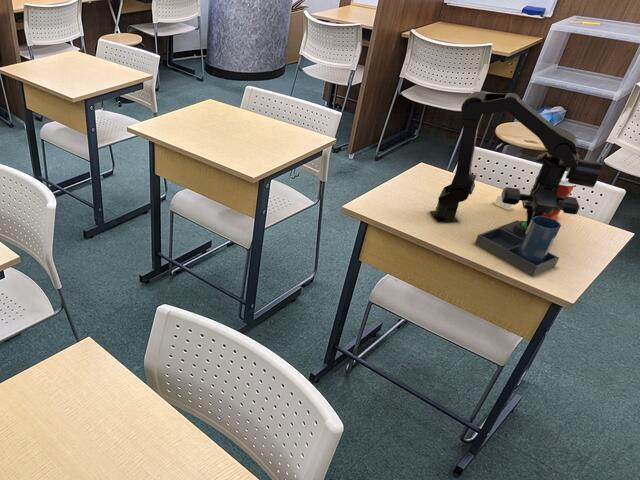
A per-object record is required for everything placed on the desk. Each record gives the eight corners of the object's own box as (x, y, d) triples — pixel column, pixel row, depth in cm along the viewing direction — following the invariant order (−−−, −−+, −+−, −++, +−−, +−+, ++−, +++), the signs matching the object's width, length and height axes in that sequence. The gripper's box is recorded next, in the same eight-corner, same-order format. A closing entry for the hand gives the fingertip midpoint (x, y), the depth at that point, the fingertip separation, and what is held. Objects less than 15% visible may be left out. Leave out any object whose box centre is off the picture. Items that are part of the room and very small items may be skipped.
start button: (516, 229, 165) (518, 224, 164) (524, 226, 166) (526, 221, 165) (527, 234, 162) (529, 229, 161) (535, 231, 164) (537, 226, 162)
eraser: (496, 203, 183) (500, 193, 181) (510, 209, 179) (514, 199, 177) (494, 204, 182) (497, 194, 180) (508, 210, 179) (512, 200, 177)
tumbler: (511, 253, 158) (529, 214, 150) (538, 257, 156) (557, 217, 149) (516, 266, 153) (534, 226, 145) (544, 270, 151) (563, 230, 143)
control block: (497, 232, 168) (502, 221, 166) (515, 226, 171) (519, 214, 169) (531, 249, 160) (536, 238, 158) (548, 243, 163) (554, 231, 161)
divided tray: (474, 244, 163) (478, 234, 161) (495, 236, 166) (499, 226, 164) (532, 277, 150) (537, 267, 148) (554, 267, 153) (559, 257, 151)
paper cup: (563, 222, 172) (583, 182, 164) (537, 220, 173) (555, 180, 165) (554, 210, 178) (572, 171, 170) (528, 208, 180) (545, 169, 171)
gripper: (514, 184, 151) (494, 232, 160) (593, 196, 145) (568, 245, 154) (511, 168, 159) (492, 214, 169) (586, 179, 153) (562, 226, 162)
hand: (528, 225), depth 163 cm, fingers closed, pressing on start button
